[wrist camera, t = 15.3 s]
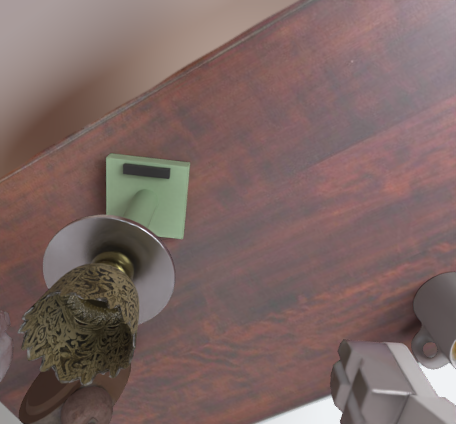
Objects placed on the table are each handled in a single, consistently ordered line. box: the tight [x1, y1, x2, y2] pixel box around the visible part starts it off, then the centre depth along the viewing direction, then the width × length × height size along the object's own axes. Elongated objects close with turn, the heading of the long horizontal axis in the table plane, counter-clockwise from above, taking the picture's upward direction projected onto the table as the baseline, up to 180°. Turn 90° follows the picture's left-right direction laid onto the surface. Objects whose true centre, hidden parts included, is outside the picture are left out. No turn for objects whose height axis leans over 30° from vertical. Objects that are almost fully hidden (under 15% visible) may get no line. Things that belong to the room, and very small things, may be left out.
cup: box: [18, 261, 139, 386], centre depth 28 cm, size 7×7×8 cm
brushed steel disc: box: [43, 215, 175, 324], centre depth 33 cm, size 11×11×2 cm
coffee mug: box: [411, 272, 456, 369], centre depth 53 cm, size 13×10×10 cm
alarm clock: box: [19, 363, 131, 424], centre depth 50 cm, size 15×7×20 cm, turn 124°
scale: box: [106, 153, 190, 239], centre depth 41 cm, size 10×10×18 cm
